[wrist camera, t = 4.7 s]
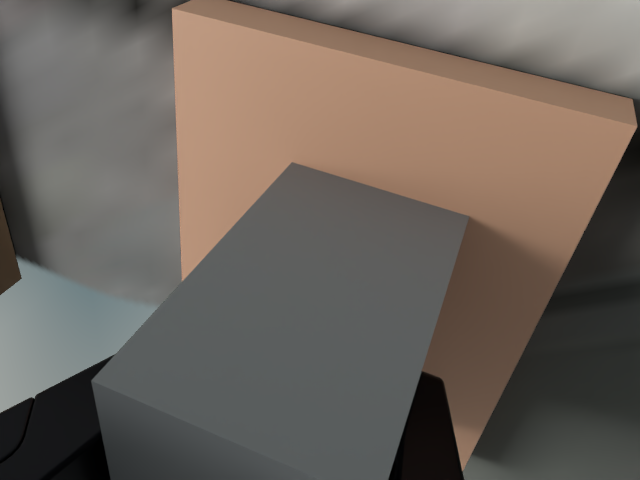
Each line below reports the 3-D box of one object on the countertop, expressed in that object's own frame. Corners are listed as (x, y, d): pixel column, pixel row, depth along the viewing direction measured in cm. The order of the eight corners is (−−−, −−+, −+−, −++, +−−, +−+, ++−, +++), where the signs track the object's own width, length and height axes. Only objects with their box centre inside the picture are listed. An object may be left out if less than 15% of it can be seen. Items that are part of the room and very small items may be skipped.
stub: (632, 99, 8) (695, 448, 3) (459, 455, 13) (395, 772, 9) (205, -6, 9) (-153, 139, 5) (206, 353, 15) (37, 581, 10)
